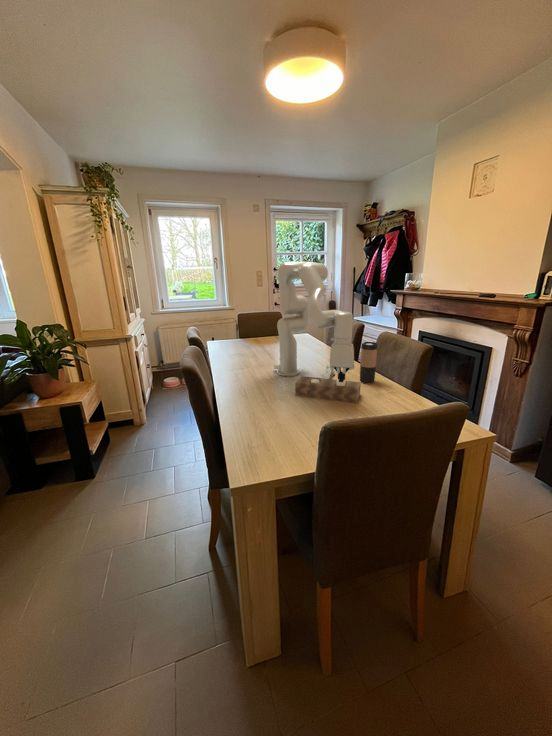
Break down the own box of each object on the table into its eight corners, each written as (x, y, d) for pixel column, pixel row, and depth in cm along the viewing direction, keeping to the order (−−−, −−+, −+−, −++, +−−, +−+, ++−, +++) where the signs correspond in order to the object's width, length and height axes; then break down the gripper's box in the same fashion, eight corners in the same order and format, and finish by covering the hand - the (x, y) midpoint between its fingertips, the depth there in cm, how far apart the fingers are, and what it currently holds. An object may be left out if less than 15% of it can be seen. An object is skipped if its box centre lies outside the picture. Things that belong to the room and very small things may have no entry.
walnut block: (295, 394, 142) (295, 382, 140) (301, 387, 151) (301, 376, 149) (356, 403, 132) (357, 390, 130) (359, 394, 141) (360, 382, 139)
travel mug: (376, 383, 153) (379, 345, 147) (361, 384, 153) (363, 345, 147) (372, 378, 160) (375, 341, 154) (357, 378, 161) (359, 341, 155)
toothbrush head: (317, 381, 148) (326, 360, 169) (317, 393, 150) (326, 371, 172) (328, 382, 146) (335, 361, 167) (328, 394, 149) (335, 372, 170)
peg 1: (309, 392, 142) (309, 381, 141) (311, 389, 146) (312, 378, 144) (317, 393, 141) (318, 382, 139) (320, 390, 144) (320, 379, 143)
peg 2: (335, 393, 138) (335, 381, 136) (337, 390, 141) (337, 379, 139) (344, 394, 136) (344, 382, 134) (345, 391, 140) (346, 380, 138)
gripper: (323, 341, 131) (322, 382, 136) (359, 343, 125) (357, 385, 131) (327, 338, 137) (326, 376, 143) (361, 340, 132) (359, 380, 137)
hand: (341, 381), depth 137 cm, fingers closed
